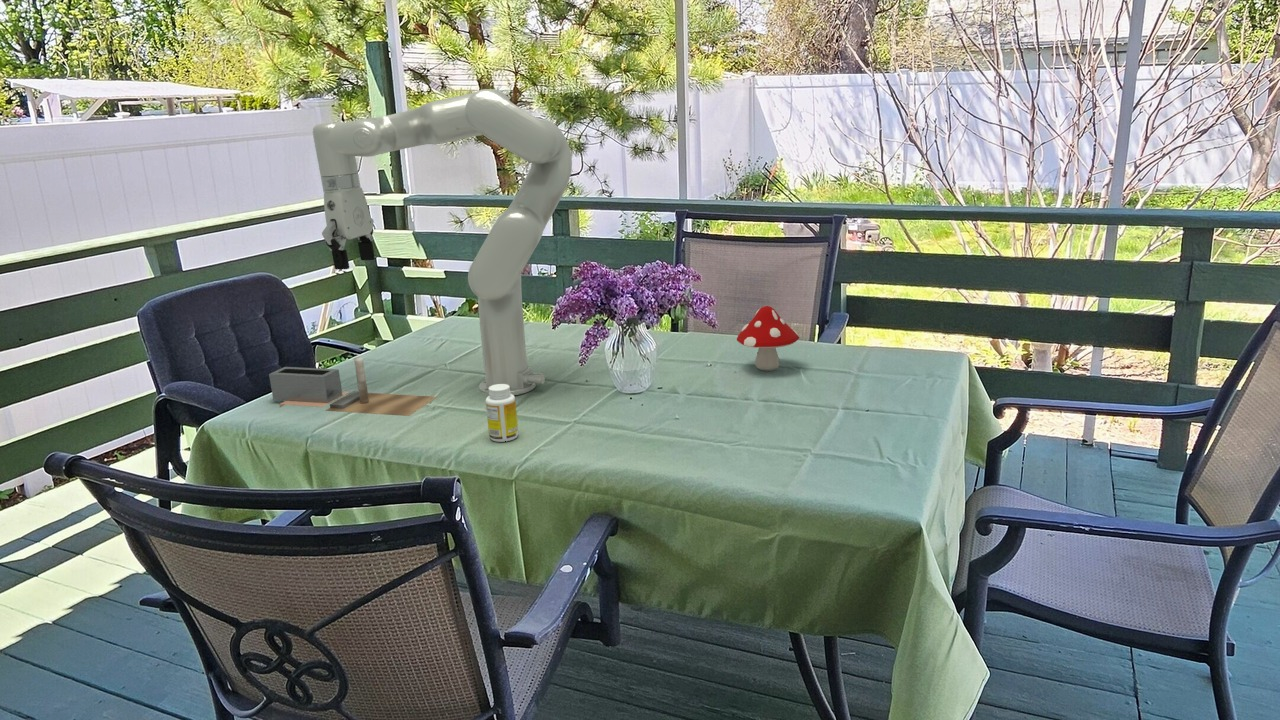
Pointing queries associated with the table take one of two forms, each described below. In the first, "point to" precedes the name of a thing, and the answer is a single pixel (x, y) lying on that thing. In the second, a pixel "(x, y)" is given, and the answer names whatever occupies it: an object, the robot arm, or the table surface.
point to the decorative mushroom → (767, 337)
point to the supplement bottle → (501, 413)
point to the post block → (377, 399)
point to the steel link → (305, 384)
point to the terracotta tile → (309, 402)
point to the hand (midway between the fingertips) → (355, 264)
